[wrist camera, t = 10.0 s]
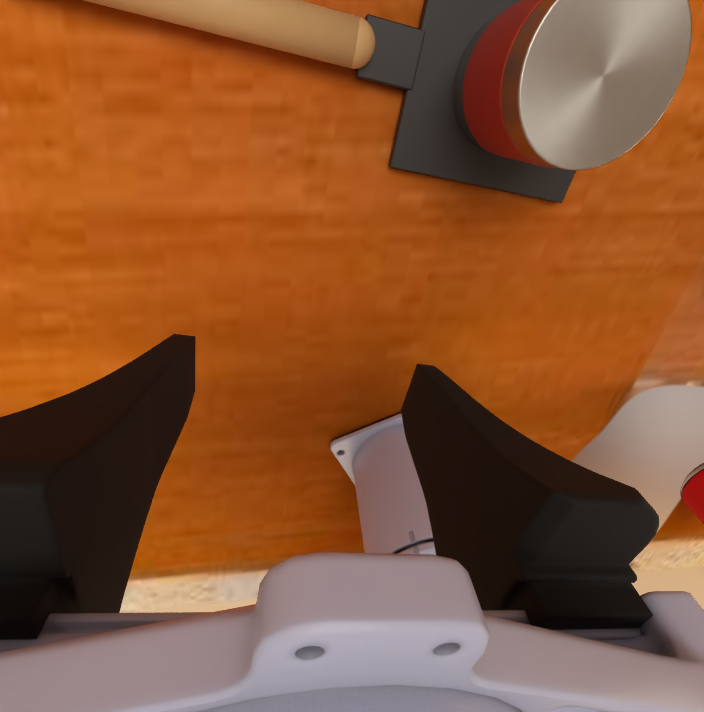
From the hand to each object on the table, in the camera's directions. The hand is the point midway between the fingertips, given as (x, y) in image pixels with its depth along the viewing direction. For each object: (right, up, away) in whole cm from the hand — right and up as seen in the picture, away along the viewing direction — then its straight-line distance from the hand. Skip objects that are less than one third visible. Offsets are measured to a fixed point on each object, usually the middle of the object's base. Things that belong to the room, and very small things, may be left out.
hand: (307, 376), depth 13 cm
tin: (+8, +12, +4) cm, 15 cm away
